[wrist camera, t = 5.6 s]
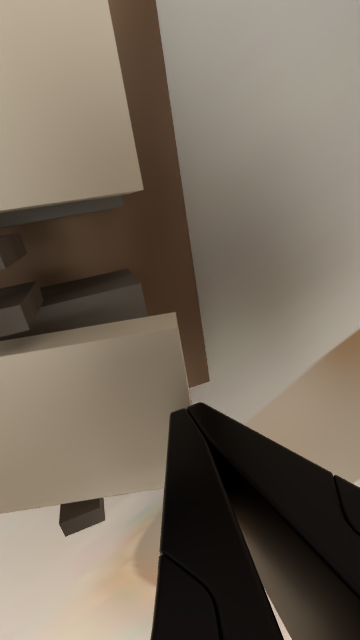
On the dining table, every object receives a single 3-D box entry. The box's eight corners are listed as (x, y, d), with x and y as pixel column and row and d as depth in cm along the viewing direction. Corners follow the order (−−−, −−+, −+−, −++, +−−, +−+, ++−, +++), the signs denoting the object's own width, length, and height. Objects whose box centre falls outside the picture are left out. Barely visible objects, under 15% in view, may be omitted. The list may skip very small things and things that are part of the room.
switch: (175, 311, 7) (177, 330, 6) (200, 453, 9) (205, 486, 8) (-125, 361, 8) (-172, 388, 7) (-40, 491, 10) (-66, 528, 8)
